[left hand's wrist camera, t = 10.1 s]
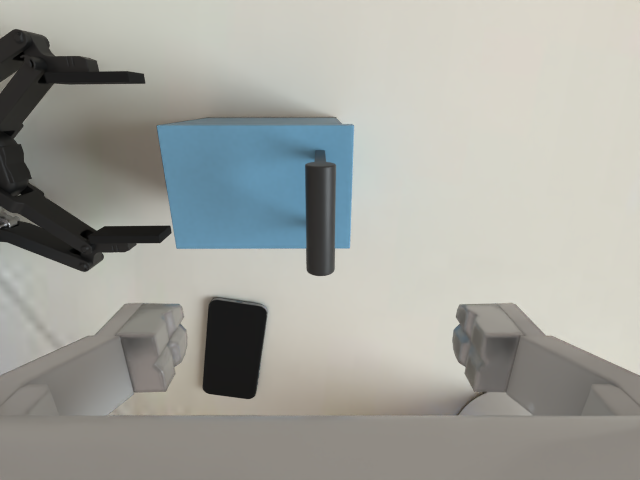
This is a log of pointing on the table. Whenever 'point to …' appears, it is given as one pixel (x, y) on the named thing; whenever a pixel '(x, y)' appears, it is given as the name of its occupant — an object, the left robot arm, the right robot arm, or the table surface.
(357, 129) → the table surface
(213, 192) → the lid
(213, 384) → the smartphone
